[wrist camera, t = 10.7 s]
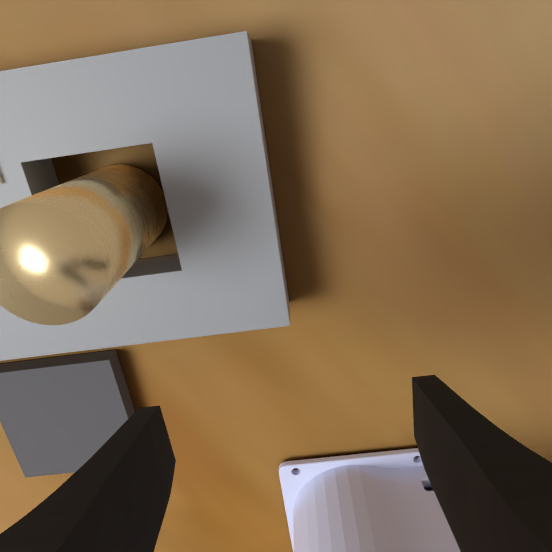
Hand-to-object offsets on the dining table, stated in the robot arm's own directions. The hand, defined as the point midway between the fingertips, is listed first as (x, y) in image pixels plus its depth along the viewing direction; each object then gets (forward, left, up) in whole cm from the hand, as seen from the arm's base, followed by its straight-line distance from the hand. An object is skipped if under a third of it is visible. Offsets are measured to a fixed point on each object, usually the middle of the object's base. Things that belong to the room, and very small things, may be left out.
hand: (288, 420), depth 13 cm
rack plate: (+10, -5, -10) cm, 15 cm away
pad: (+13, +6, -10) cm, 18 cm away
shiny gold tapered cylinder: (+7, -5, -10) cm, 13 cm away
